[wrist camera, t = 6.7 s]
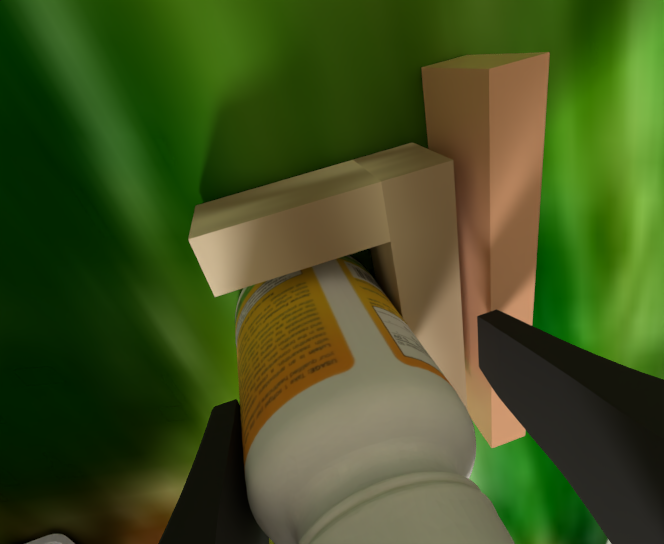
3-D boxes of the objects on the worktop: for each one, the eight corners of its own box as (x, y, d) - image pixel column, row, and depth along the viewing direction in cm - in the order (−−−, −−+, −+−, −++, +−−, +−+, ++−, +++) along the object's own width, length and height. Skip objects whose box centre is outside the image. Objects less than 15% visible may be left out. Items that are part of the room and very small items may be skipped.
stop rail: (449, 386, 19) (491, 448, 16) (420, 67, 12) (489, 69, 9) (477, 376, 19) (525, 435, 16) (467, 54, 12) (549, 51, 9)
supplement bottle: (233, 368, 15) (248, 742, 7) (235, 240, 13) (265, 575, 4) (362, 360, 17) (507, 656, 8) (386, 244, 14) (622, 497, 6)
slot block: (287, 418, 17) (296, 473, 14) (195, 205, 12) (188, 239, 9) (436, 365, 17) (467, 410, 15) (412, 142, 12) (453, 159, 10)
